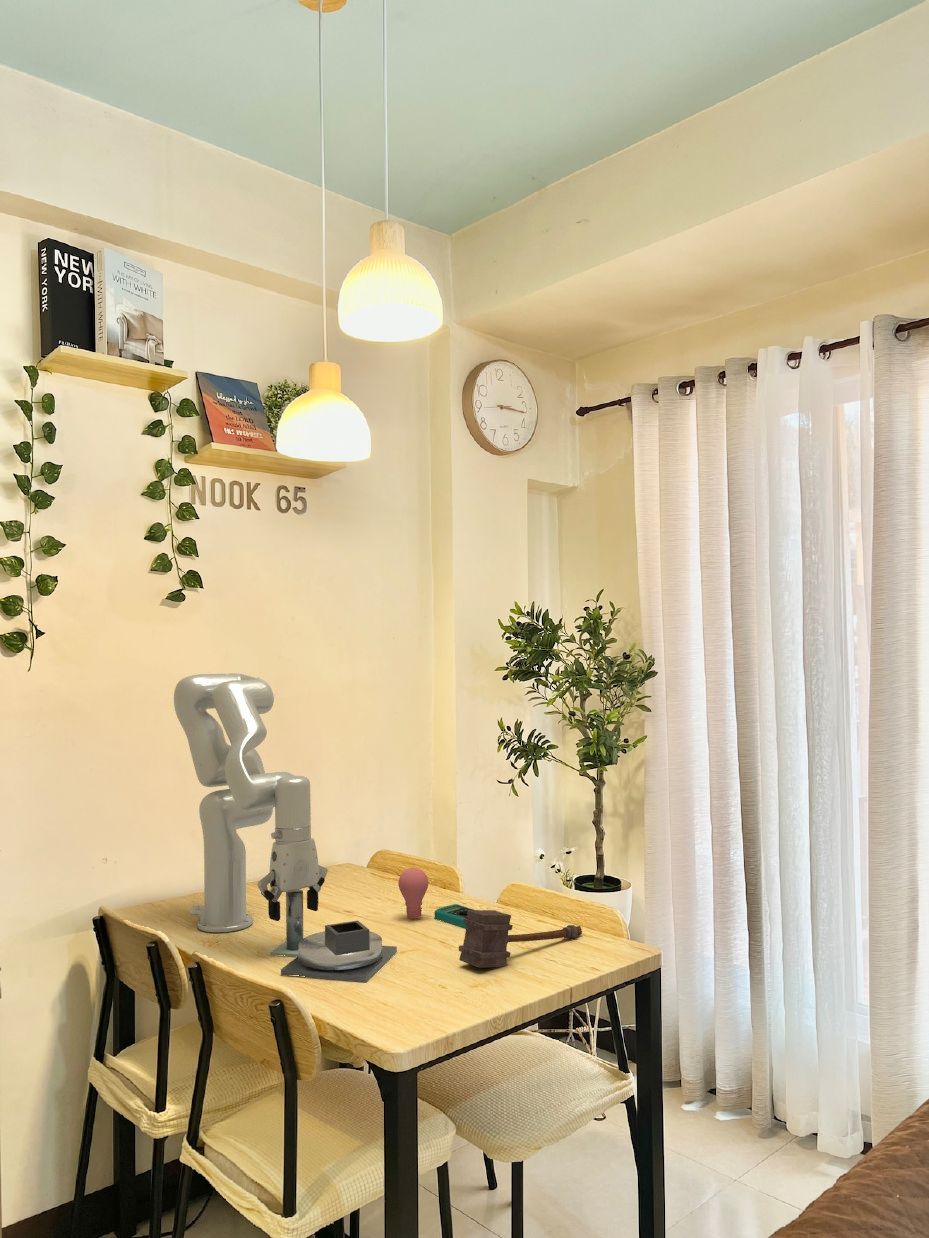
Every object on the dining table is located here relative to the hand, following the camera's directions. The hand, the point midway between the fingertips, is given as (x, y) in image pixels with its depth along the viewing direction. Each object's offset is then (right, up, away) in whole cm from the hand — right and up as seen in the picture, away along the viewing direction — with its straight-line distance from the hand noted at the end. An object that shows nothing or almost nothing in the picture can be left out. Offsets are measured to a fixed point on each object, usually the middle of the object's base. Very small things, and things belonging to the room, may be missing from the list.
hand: (293, 914), depth 197 cm
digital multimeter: (+37, -8, +19) cm, 42 cm away
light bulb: (+25, -8, +22) cm, 34 cm away
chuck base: (+11, -7, -9) cm, 16 cm away
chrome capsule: (0, -7, 0) cm, 7 cm away
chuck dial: (+11, -5, -9) cm, 15 cm away
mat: (0, -8, 0) cm, 8 cm away
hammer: (+50, -7, -3) cm, 51 cm away
